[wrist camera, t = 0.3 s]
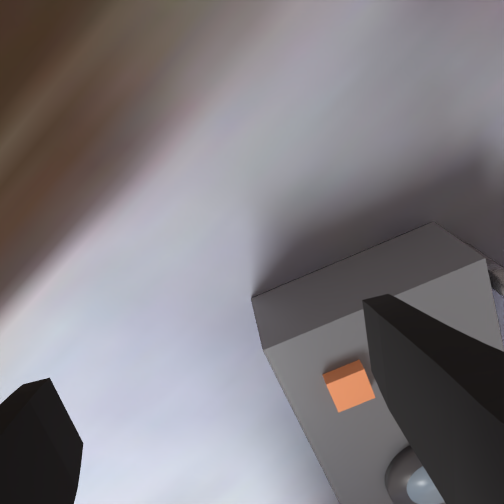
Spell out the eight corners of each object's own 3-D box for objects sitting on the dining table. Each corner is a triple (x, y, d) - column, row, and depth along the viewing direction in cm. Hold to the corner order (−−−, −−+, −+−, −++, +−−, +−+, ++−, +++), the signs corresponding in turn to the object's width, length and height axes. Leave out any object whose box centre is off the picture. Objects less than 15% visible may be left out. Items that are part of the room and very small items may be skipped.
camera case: (485, 427, 26) (541, 500, 22) (340, 484, 27) (368, 566, 22) (433, 221, 20) (497, 266, 16) (250, 298, 21) (265, 361, 17)
